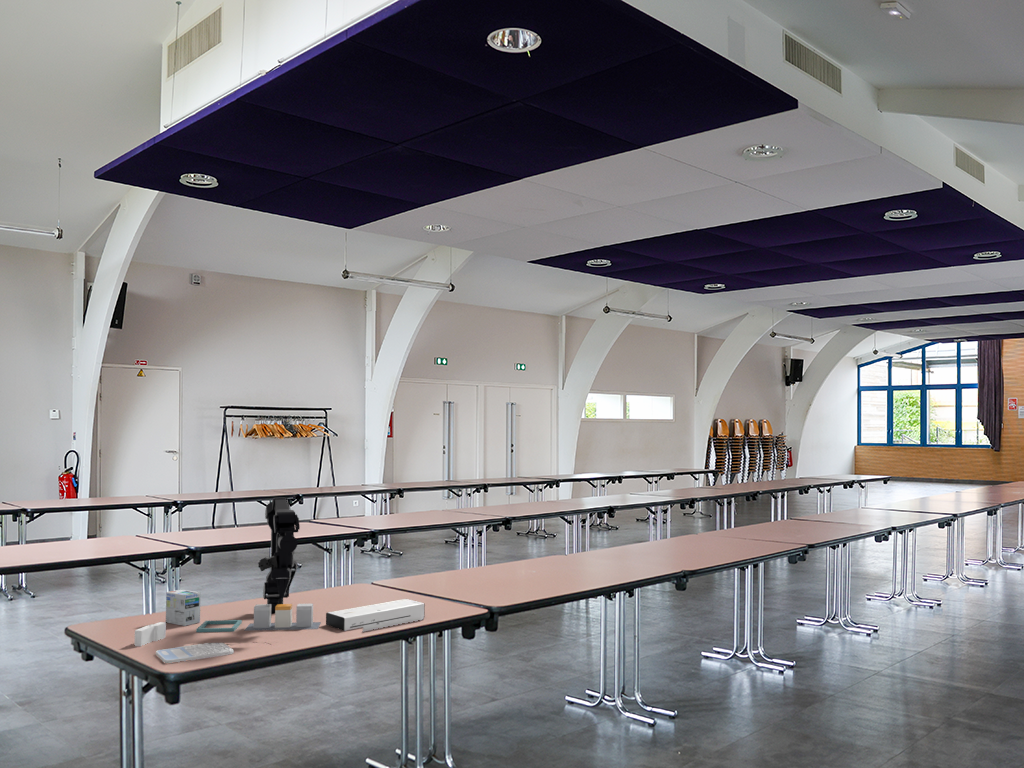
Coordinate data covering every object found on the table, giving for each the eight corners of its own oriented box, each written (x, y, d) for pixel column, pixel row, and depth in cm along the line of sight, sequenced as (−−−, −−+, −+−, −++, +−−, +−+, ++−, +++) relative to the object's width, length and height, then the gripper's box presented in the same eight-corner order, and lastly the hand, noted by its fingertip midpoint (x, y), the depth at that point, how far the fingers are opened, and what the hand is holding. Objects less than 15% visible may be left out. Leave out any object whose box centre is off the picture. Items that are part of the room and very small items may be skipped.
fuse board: (249, 627, 284) (250, 623, 285) (321, 626, 287) (321, 622, 287) (243, 635, 275) (243, 630, 275) (317, 633, 277) (317, 628, 277)
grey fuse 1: (255, 625, 282) (256, 604, 282) (270, 625, 282) (271, 604, 283) (253, 628, 278) (253, 607, 278) (268, 627, 278) (269, 606, 279)
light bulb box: (200, 622, 292) (201, 591, 292) (184, 626, 286) (185, 594, 287) (180, 619, 297) (181, 588, 298) (164, 622, 291) (165, 591, 292)
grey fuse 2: (297, 624, 283) (298, 603, 284) (312, 624, 284) (313, 603, 284) (296, 627, 279) (296, 606, 280) (311, 627, 280) (311, 606, 280)
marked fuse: (276, 624, 283) (277, 604, 283) (291, 624, 283) (292, 603, 284) (274, 627, 279) (275, 606, 279) (290, 627, 279) (290, 606, 280)
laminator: (343, 636, 275) (344, 617, 275) (323, 630, 284) (324, 611, 284) (424, 620, 299) (424, 603, 299) (404, 614, 307) (404, 598, 308)
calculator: (234, 655, 252) (234, 649, 252) (165, 666, 240) (165, 659, 240) (221, 645, 263) (221, 639, 263) (154, 655, 251) (154, 649, 251)
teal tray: (205, 628, 284) (205, 620, 284) (241, 627, 285) (241, 619, 285) (196, 636, 272) (196, 629, 272) (233, 636, 273) (234, 628, 273)
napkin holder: (133, 650, 257) (134, 632, 257) (122, 643, 265) (122, 625, 265) (182, 642, 267) (183, 624, 267) (169, 635, 275) (170, 618, 275)
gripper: (265, 544, 291) (264, 589, 290) (255, 552, 272) (254, 601, 271) (298, 544, 292) (297, 589, 291) (289, 552, 273) (288, 600, 273)
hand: (283, 594), depth 281 cm, fingers open, 9 cm apart
